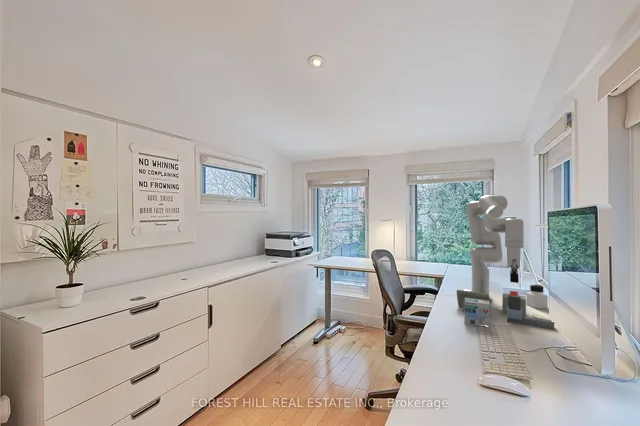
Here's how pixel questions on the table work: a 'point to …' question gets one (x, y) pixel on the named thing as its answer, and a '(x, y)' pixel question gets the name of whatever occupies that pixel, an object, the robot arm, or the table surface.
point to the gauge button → (513, 293)
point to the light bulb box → (476, 312)
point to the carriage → (514, 307)
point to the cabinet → (505, 304)
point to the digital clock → (468, 294)
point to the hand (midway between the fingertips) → (514, 280)
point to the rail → (533, 322)
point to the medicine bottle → (536, 297)
